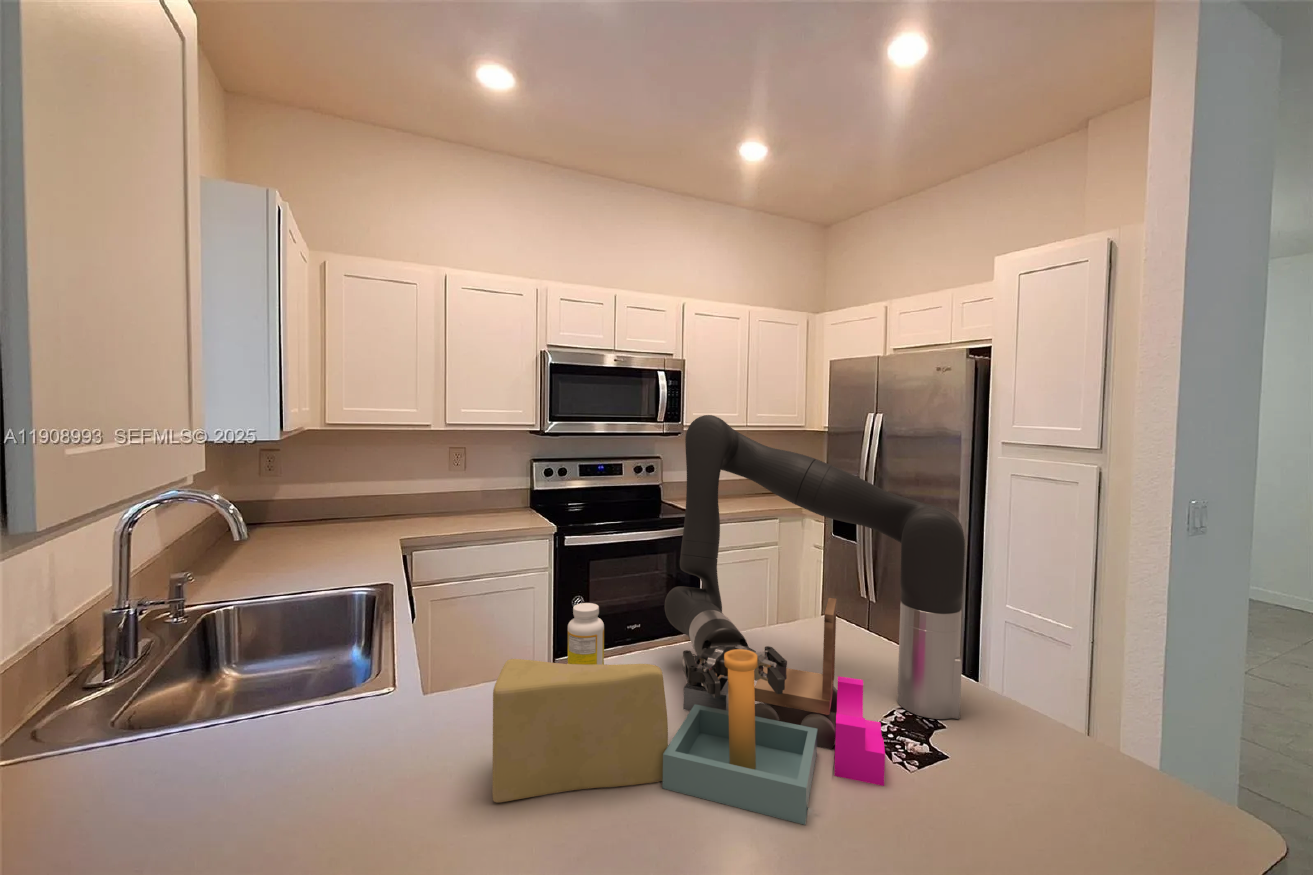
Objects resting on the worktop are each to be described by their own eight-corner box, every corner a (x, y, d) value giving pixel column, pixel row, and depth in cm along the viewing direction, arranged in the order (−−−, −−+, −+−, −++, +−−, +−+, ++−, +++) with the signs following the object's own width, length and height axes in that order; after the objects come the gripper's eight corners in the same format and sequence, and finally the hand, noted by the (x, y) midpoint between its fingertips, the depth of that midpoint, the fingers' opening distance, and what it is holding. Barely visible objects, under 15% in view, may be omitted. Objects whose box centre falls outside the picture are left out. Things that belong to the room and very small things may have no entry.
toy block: (883, 787, 77) (885, 731, 76) (834, 777, 79) (835, 723, 78) (878, 729, 91) (880, 682, 91) (836, 722, 93) (837, 676, 92)
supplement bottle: (584, 664, 112) (585, 598, 111) (611, 674, 108) (612, 605, 107) (559, 677, 106) (560, 607, 106) (586, 687, 103) (587, 615, 102)
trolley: (839, 715, 95) (843, 595, 94) (834, 756, 83) (838, 620, 82) (759, 699, 99) (762, 585, 98) (744, 737, 87) (747, 608, 87)
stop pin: (761, 759, 80) (760, 651, 79) (755, 778, 76) (753, 664, 75) (730, 753, 82) (728, 647, 81) (722, 771, 77) (720, 660, 77)
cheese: (664, 756, 82) (666, 652, 82) (670, 802, 73) (672, 684, 72) (505, 759, 81) (506, 653, 80) (489, 807, 71) (490, 686, 71)
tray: (816, 760, 82) (817, 728, 82) (805, 825, 69) (806, 788, 69) (694, 733, 88) (694, 704, 88) (662, 788, 75) (663, 754, 75)
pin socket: (735, 703, 98) (736, 677, 98) (725, 723, 91) (726, 695, 91) (695, 695, 100) (696, 669, 100) (683, 715, 94) (683, 687, 94)
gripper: (673, 619, 91) (697, 663, 75) (760, 616, 93) (801, 658, 77) (672, 666, 91) (695, 721, 75) (759, 662, 94) (800, 713, 78)
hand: (749, 689), depth 76 cm, fingers open, 8 cm apart
